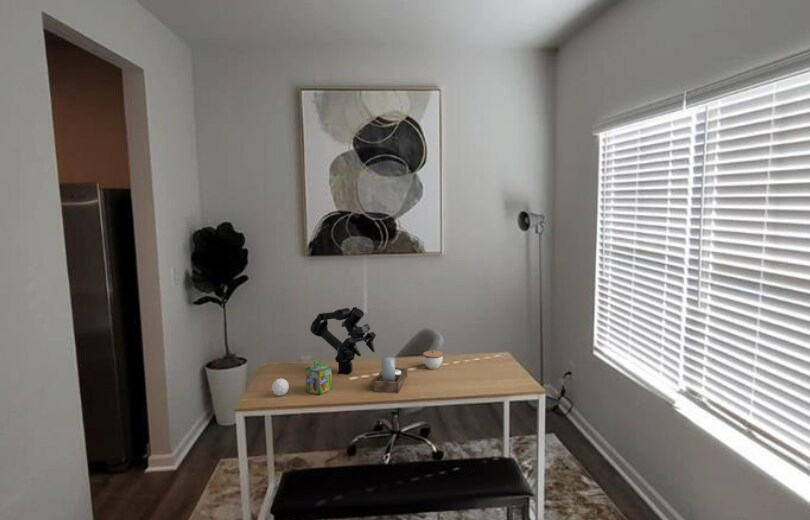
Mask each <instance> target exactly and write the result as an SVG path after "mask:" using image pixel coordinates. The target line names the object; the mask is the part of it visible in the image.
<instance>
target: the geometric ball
mask: <svg viewBox="0 0 810 520" xmlns="http://www.w3.org/2000/svg"><path fill="white" fill-rule="evenodd" d="M289 389H290V386H289V382H288V381H287V380H286V379H284V378H277V379H275V380H274V381H273V383H272V385H271V391H272V393H273V394H274V395H275V396H278V397H281V396H284V395H286V394H287V393H288V391H289Z"/></svg>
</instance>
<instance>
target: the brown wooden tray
mask: <svg viewBox="0 0 810 520" xmlns="http://www.w3.org/2000/svg"><path fill="white" fill-rule="evenodd" d="M395 369H398V370H401V375H398V374H395V382H385V381H382V370H381V371H380V372H379V373H378V375H377V376H376V377H375V379H374V381H373V392H377V391H380V393H394V392H395V393H397V394H399V393H400V392H401V389H402V388H403V385H404V384H405V381H406V380H407V378H408V367H398V366H395Z"/></svg>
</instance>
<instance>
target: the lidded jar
mask: <svg viewBox="0 0 810 520" xmlns="http://www.w3.org/2000/svg"><path fill="white" fill-rule="evenodd" d="M422 356H423V357H422V358H423V360H422V361H423V363H424V365H425V366H426V367H427V369H429V370H437V369H439V368H438V367H440V366H441V365H442V363H443V358H444V357H443V352H442V351H438V350H434V349H433V350H426V351H424V352H423V354H422Z"/></svg>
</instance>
